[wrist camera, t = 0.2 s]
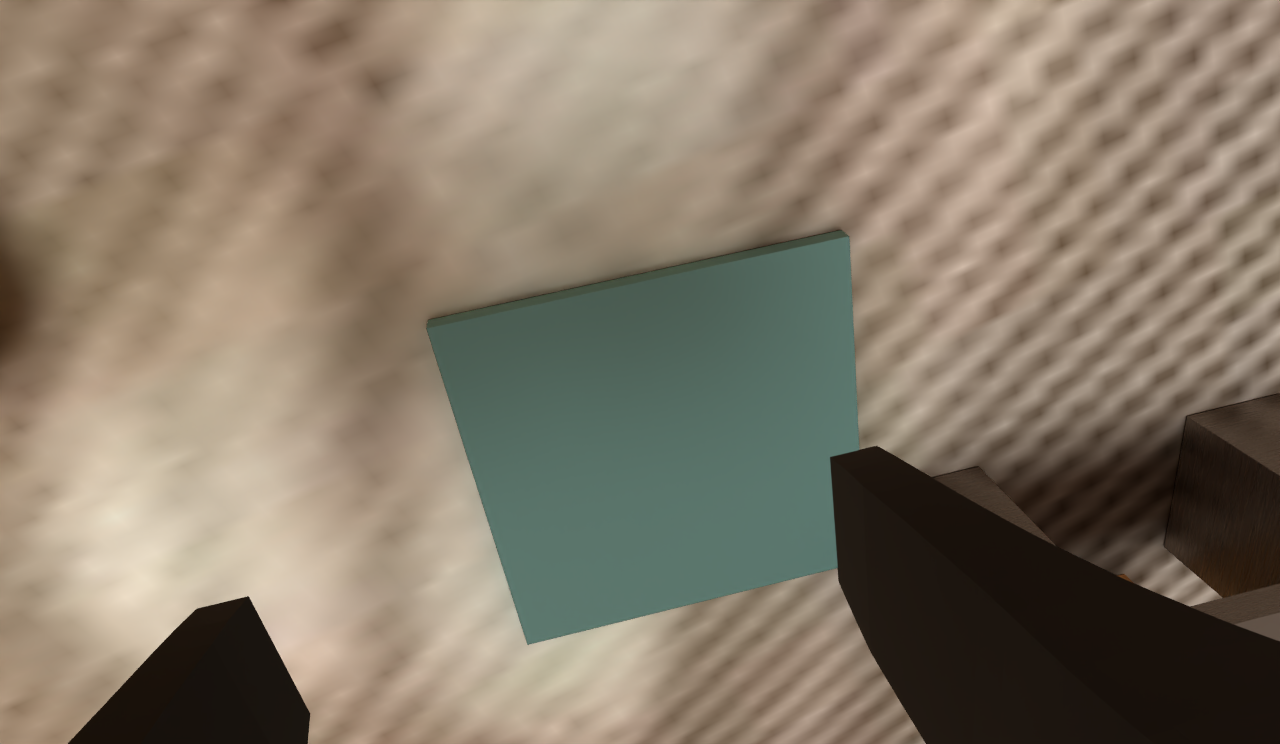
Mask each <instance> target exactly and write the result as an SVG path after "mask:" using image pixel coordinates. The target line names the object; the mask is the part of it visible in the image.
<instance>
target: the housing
mask: <svg viewBox="0 0 1280 744" xmlns="http://www.w3.org/2000/svg"><path fill="white" fill-rule="evenodd" d="M933 479H935V480H937V481H939V482H940V483H942V484H944V485H945V486H947V487H949V488H951V489H952V490H954V491H956V492H957V493H959V494H961V495H963V496H964V497H966V498H968V499H970V500H971V501H973V502H975V503H977V504H978V505H980V506H982V507H984V508H986V509H987V510H989V511H991V512H993V513H995V514H996V515H998V516H1000V517H1002V518H1004V519H1005V520H1007V521H1009V522H1011V523H1013V524H1015V525H1017V526H1018V527H1020V528H1022V529H1024V530H1026V531H1028V532H1030V533H1032V534H1034V535H1035V536H1037V537H1039V538H1041V539H1043V540H1045V541H1047V542H1049V543H1051V544H1053V545H1055V544H1054V543H1053V542H1052V541H1051V540H1050V539H1049V538H1048V537H1047V536H1046V535H1045V534H1044V533H1043V532H1042V531H1041V530H1040V529H1039V528H1038V527H1037V526H1036V525H1035V524H1034V523H1033V522H1032V521H1031V519H1030V518H1029V517H1028V516H1027V515H1026V514H1025V513H1024V512H1023V511H1022V510H1021V509H1020V508H1019V507H1018V506H1017V505H1016V504H1015V503H1014V502H1013V501H1012V500H1011V499H1010V498H1009V497H1008V496H1007V495H1006V494H1005V493H1004V492H1003V491H1002V490H1001V489H1000V488H999V487H998V486H997V485H996V484H995V483H994V482H993V481H992V480H991V479H990V478H989V477H988V476H987V475H986V474H985V473H984V471H983V470H982V469H981V468H980V467H975V468H971V469H967V470H963V471H959V472H954V473H950V474H946V475H942V476H938V477H934V478H933ZM1055 546H1056V545H1055ZM1164 547H1165V548H1166V549H1167V550H1168V551H1169V552H1170V553H1172V554H1173V555H1174V556H1175V557H1176V558H1177V559H1179V560H1180V561H1181V562H1182V563H1183V564H1184V565H1186V566H1187V567H1188V568H1189V569H1190V570H1191V571H1193V572H1194V573H1195V574H1196V575H1197V576H1198V577H1199V578H1201V579H1202V580H1203V581H1204V582H1205V583H1206V584H1208V585H1209V586H1210V587H1211V588H1212V589H1213V590H1215V591H1216V592H1217V593H1218V594H1219V595H1220V596H1222V597H1223V598H1222V599H1218V600H1214V601H1210V602H1206V603H1202V604H1198V605H1195V606H1191V607H1192V608H1194V609H1197V610H1199V611H1201V612H1204V613H1206V614H1209V615H1211V616H1214V617H1216V618H1219V619H1221V620H1223V621H1226V622H1229V623H1231V624H1234V625H1237V626H1239V627H1242V628H1245V629H1247V630H1250V631H1253V632H1255V633H1258V634H1261V635H1264V636H1266V637H1269V638H1272V639H1274V640H1277V641H1280V394H1277V395H1273V396H1268V397H1264V398H1260V399H1256V400H1252V401H1248V402H1244V403H1239V404H1235V405H1231V406H1227V407H1223V408H1219V409H1215V410H1211V411H1206V412H1202V413H1198V414H1194V415H1190V416H1187V419H1186V425H1185V431H1184V436H1183V442H1182V448H1181V453H1180V459H1179V465H1178V470H1177V476H1176V482H1175V487H1174V493H1173V499H1172V504H1171V510H1170V516H1169V521H1168V527H1167V533H1166V538H1165V544H1164Z"/></svg>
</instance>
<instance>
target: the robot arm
mask: <svg viewBox="0 0 1280 744" xmlns="http://www.w3.org/2000/svg"><path fill="white" fill-rule="evenodd" d="M830 465H831V480H832V494H833V508H834V522H835V536H836V550H837V565H838V579H839V583H840V585H841V588H842V590H843V592H844V594H845V597H846V599H847V601H848V604H849V606H850V608H851V610H852V613H853V615H854V617H855V619H856V622H857V624H858V626H859V628H860V630H861V632H862V634H863V637H864V639H865V641H866V643H867V645H868V647H869V649H870V652H871V653H872V655H873V657H874V658H875V660H876V662H877V664H878V665H879V667H880V669H881V670H882V672H883V674H884V675H885V677H886V679H887V680H888V682H889V684H890V685H891V687H892V689H893V690H894V692H895V694H896V695H897V697H898V699H899V700H900V702H901V704H902V705H903V707H904V709H905V710H906V712H907V713H908V715H909V717H910V718H911V720H912V722H913V723H914V725H915V727H916V728H917V730H918V731H919V733H920V735H921V736H922V738H923V740H924V741H925V743H926V744H1280V641H1277V640H1274V639H1272V638H1269V637H1266V636H1264V635H1261V634H1258V633H1255V632H1253V631H1250V630H1247V629H1245V628H1242V627H1239V626H1237V625H1234V624H1231V623H1229V622H1226V621H1223V620H1221V619H1219V618H1216V617H1214V616H1211V615H1209V614H1206V613H1204V612H1201V611H1199V610H1197V609H1194V608H1192V607H1189V606H1187V605H1184V604H1182V603H1179V602H1177V601H1175V600H1172V599H1170V598H1167V597H1165V596H1162V595H1160V594H1157V593H1155V592H1153V591H1150V590H1148V589H1146V588H1143V587H1141V586H1139V585H1137V584H1134V583H1132V582H1130V581H1128V580H1125V579H1123V578H1121V577H1119V576H1117V575H1114V574H1112V573H1110V572H1108V571H1106V570H1104V569H1102V568H1100V567H1098V566H1096V565H1094V564H1092V563H1090V562H1088V561H1086V560H1083V559H1081V558H1079V557H1077V556H1075V555H1073V554H1071V553H1069V552H1067V551H1065V550H1063V549H1061V548H1059V547H1057V546H1055V545H1053V544H1051V543H1049V542H1047V541H1045V540H1043V539H1041V538H1039V537H1037V536H1035V535H1034V534H1032V533H1030V532H1028V531H1026V530H1024V529H1022V528H1020V527H1018V526H1017V525H1015V524H1013V523H1011V522H1009V521H1007V520H1005V519H1004V518H1002V517H1000V516H998V515H996V514H995V513H993V512H991V511H989V510H987V509H986V508H984V507H982V506H980V505H978V504H977V503H975V502H973V501H971V500H970V499H968V498H966V497H964V496H963V495H961V494H959V493H957V492H956V491H954V490H952V489H951V488H949V487H947V486H945V485H944V484H942V483H940V482H939V481H937V480H935V479H933V478H932V477H930V476H928V475H927V474H925V473H923V472H921V471H920V470H918V469H916V468H915V467H913V466H911V465H910V464H908V463H906V462H904V461H903V460H901V459H899V458H898V457H896V456H894V455H892V454H891V453H889V452H887V451H885V450H883V449H882V448H880V447H878V446H874V447H870V448H866V449H861V450H857V451H853V452H849V453H845V454H841V455H836V456H832V457H830ZM309 721H310V713H309V711H308V709H307V707H306V705H305V703H304V701H303V699H302V697H301V695H300V694H299V692H298V690H297V688H296V686H295V684H294V682H293V680H292V678H291V676H290V674H289V673H288V671H287V669H286V667H285V665H284V663H283V661H282V659H281V657H280V655H279V653H278V652H277V650H276V648H275V646H274V644H273V642H272V640H271V638H270V636H269V634H268V632H267V631H266V629H265V627H264V625H263V623H262V621H261V619H260V617H259V615H258V613H257V611H256V610H255V608H254V606H253V604H252V602H251V600H250V598H249V596H248V597H244V598H240V599H235V600H231V601H227V602H223V603H219V604H215V605H210V606H206V607H202V608H198V609H196V610H195V611H194V612H193V613H192V614H191V615H190V616H189V617H188V618H187V619H186V620H185V621H183V622H182V623H181V624H180V625H179V626H178V627H177V628H176V629H175V630H174V631H173V632H172V633H171V634H170V636H169V637H168V638H167V639H166V640H165V641H164V642H163V643H162V644H161V645H160V646H159V647H158V648H157V649H156V650H155V651H154V652H153V653H152V654H151V655H150V656H149V658H148V659H147V660H146V661H145V662H144V663H143V664H142V665H141V666H140V667H139V668H138V669H137V670H136V671H135V672H134V674H133V675H132V676H131V677H130V678H129V679H128V680H127V681H126V682H125V683H124V684H123V685H122V686H121V688H120V689H119V690H118V691H117V692H116V693H115V694H114V695H113V696H112V697H111V698H110V699H109V700H108V701H107V703H106V704H105V705H104V706H103V707H102V708H101V709H100V710H99V711H98V712H97V713H96V714H95V715H94V716H93V717H92V718H91V720H90V721H89V722H88V723H87V724H86V725H85V726H84V727H83V728H82V729H81V730H80V731H79V732H78V733H77V734H76V735H75V737H74V738H73V739H72V740H71V741H70V742H69V743H68V744H308V732H309Z"/></svg>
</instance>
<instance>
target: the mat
mask: <svg viewBox="0 0 1280 744" xmlns="http://www.w3.org/2000/svg"><path fill="white" fill-rule="evenodd" d="M426 329H427V332H428V335H429V338H430V341H431V344H432V348H433V351H434V354H435V357H436V360H437V363H438V366H439V369H440V373H441V376H442V379H443V382H444V385H445V388H446V391H447V394H448V398H449V401H450V404H451V407H452V410H453V413H454V416H455V419H456V423H457V426H458V429H459V432H460V435H461V438H462V441H463V444H464V448H465V451H466V454H467V457H468V460H469V463H470V466H471V469H472V473H473V476H474V479H475V482H476V485H477V488H478V491H479V494H480V498H481V501H482V504H483V507H484V510H485V513H486V516H487V519H488V523H489V526H490V529H491V532H492V535H493V538H494V541H495V544H496V548H497V551H498V554H499V557H500V560H501V563H502V566H503V569H504V573H505V576H506V579H507V582H508V585H509V588H510V591H511V594H512V598H513V601H514V604H515V607H516V610H517V613H518V616H519V619H520V623H521V626H522V629H523V632H524V635H525V638H526V641H527V644H528V645H529V644H533V643H537V642H541V641H545V640H549V639H553V638H557V637H561V636H565V635H569V634H573V633H577V632H581V631H585V630H589V629H593V628H597V627H601V626H605V625H609V624H614V623H618V622H622V621H626V620H630V619H634V618H638V617H642V616H646V615H650V614H654V613H658V612H662V611H666V610H670V609H674V608H678V607H682V606H686V605H690V604H694V603H698V602H702V601H706V600H710V599H714V598H718V597H722V596H726V595H730V594H734V593H738V592H743V591H747V590H751V589H755V588H759V587H763V586H767V585H771V584H775V583H779V582H783V581H787V580H791V579H795V578H799V577H803V576H807V575H811V574H815V573H819V572H823V571H827V570H831V569H835V568H838V565H837V550H836V536H835V522H834V508H833V494H832V480H831V465H830V457H832V456H836V455H841V454H845V453H849V452H853V451H857V450H859V434H858V412H857V391H856V369H855V348H854V326H853V305H852V284H851V262H850V241H849V236H848V235H847V234H846V233H844V232H843V231H842V230H839V231H835V232H830V233H826V234H821V235H816V236H812V237H807V238H803V239H798V240H793V241H789V242H784V243H780V244H775V245H770V246H766V247H761V248H757V249H752V250H747V251H743V252H738V253H734V254H729V255H725V256H720V257H715V258H711V259H706V260H702V261H697V262H692V263H688V264H683V265H679V266H674V267H669V268H665V269H660V270H656V271H651V272H647V273H642V274H637V275H633V276H628V277H624V278H619V279H614V280H610V281H605V282H601V283H596V284H591V285H587V286H582V287H578V288H573V289H568V290H564V291H559V292H555V293H550V294H546V295H541V296H536V297H532V298H527V299H523V300H518V301H513V302H509V303H504V304H500V305H495V306H490V307H486V308H481V309H477V310H472V311H468V312H463V313H458V314H454V315H449V316H445V317H440V318H435V319H431V320H428V323H427V328H426Z"/></svg>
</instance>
